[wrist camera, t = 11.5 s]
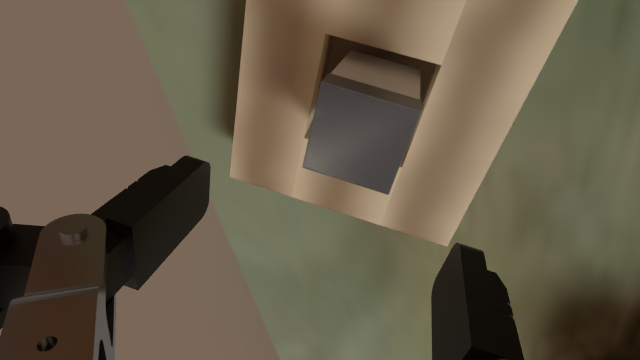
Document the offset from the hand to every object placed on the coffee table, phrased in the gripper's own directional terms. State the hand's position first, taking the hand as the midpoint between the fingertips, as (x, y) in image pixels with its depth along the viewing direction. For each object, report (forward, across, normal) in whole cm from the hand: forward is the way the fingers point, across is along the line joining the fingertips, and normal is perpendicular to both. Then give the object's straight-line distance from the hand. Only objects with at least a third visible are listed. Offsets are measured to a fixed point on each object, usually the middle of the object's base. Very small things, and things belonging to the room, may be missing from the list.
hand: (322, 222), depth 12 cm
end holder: (+16, 0, 0) cm, 16 cm away
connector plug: (+15, 0, 0) cm, 15 cm away
